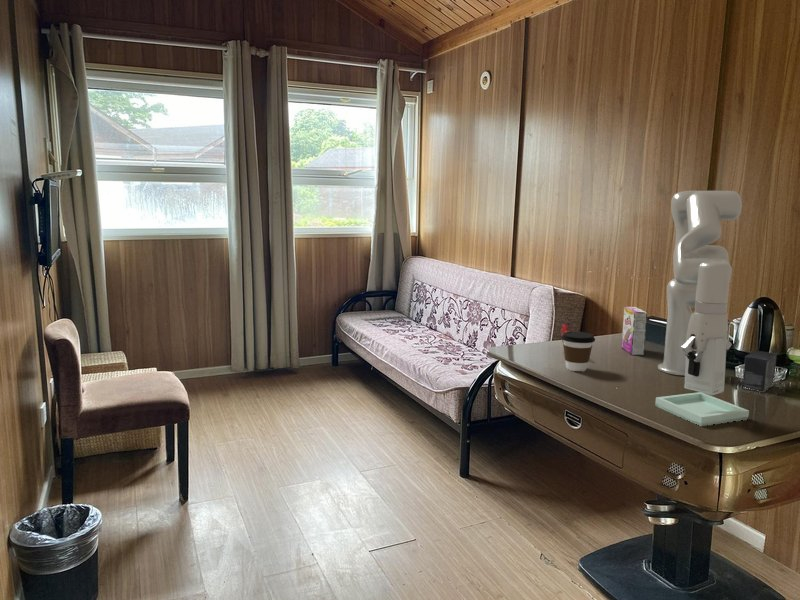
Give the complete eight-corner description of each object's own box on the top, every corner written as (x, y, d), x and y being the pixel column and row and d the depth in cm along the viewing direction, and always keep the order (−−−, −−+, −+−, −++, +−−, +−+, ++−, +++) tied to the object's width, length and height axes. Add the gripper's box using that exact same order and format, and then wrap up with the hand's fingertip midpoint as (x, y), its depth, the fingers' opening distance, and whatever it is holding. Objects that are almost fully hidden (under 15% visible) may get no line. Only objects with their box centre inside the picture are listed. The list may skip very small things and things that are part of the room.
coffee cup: (552, 367, 205) (554, 333, 203) (573, 363, 211) (575, 329, 209) (578, 375, 196) (581, 339, 194) (599, 370, 202) (602, 335, 200)
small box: (751, 381, 192) (754, 349, 190) (774, 385, 188) (778, 353, 186) (740, 388, 185) (744, 355, 183) (764, 393, 180) (768, 359, 178)
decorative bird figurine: (564, 348, 232) (565, 322, 231) (583, 360, 215) (585, 332, 213) (556, 348, 232) (558, 322, 230) (576, 360, 215) (577, 333, 213)
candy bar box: (620, 348, 233) (623, 306, 231) (633, 348, 233) (636, 306, 231) (630, 355, 222) (634, 311, 220) (644, 355, 222) (648, 312, 220)
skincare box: (724, 392, 160) (730, 338, 157) (711, 396, 157) (717, 340, 154) (694, 384, 167) (699, 332, 164) (681, 388, 164) (686, 334, 161)
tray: (699, 400, 173) (700, 392, 172) (748, 419, 158) (749, 410, 158) (655, 406, 168) (655, 397, 167) (700, 426, 153) (701, 417, 152)
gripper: (724, 304, 164) (717, 367, 167) (673, 307, 159) (667, 372, 162) (747, 309, 157) (740, 375, 160) (696, 312, 152) (689, 380, 155)
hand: (704, 373), depth 161 cm, fingers closed on skincare box, 6 cm apart
